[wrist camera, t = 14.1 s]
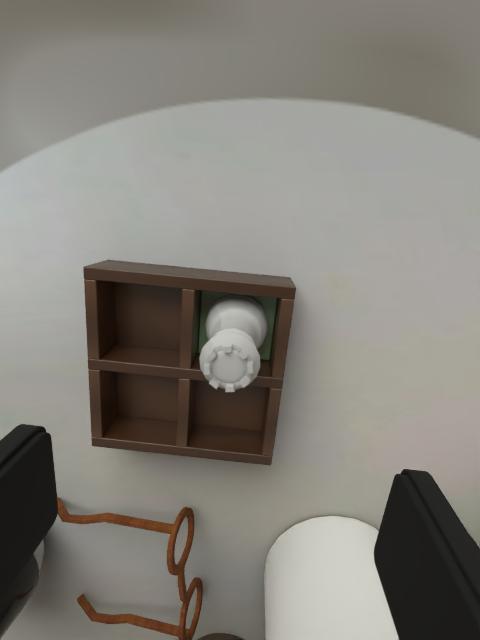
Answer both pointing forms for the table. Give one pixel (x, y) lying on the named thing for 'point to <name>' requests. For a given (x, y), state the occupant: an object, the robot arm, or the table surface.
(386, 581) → the robot arm
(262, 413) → the rack
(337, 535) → the can
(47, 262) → the table surface
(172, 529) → the glasses
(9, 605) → the dark grey rounded dome
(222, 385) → the rook chess piece
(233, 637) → the plant pot
